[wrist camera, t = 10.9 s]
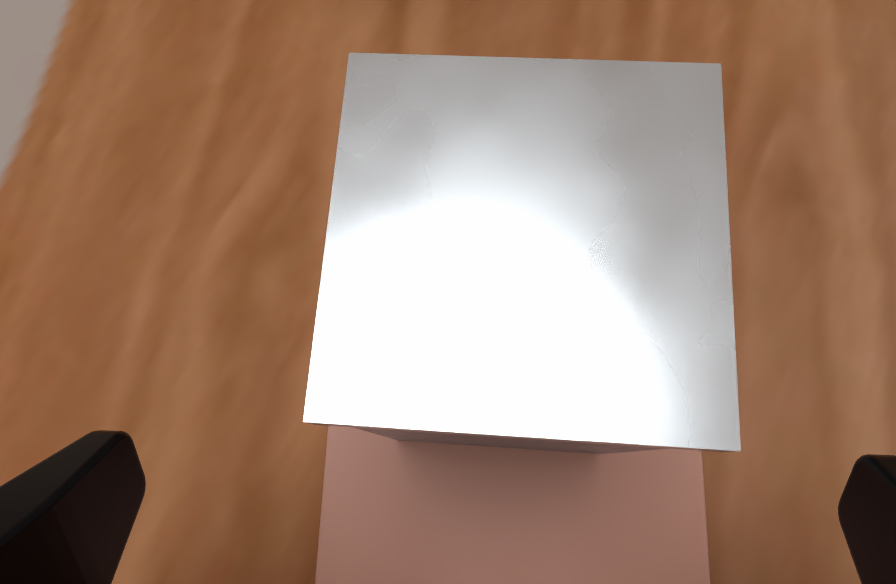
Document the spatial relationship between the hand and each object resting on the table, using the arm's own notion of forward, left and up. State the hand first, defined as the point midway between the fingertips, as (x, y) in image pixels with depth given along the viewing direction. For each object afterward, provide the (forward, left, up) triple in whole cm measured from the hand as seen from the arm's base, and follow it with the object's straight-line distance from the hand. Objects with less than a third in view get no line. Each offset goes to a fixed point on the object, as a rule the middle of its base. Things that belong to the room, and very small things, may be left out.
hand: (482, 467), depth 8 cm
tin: (-1, -4, -11) cm, 12 cm away
